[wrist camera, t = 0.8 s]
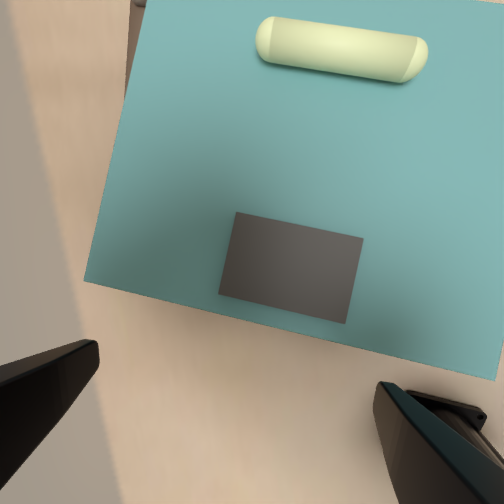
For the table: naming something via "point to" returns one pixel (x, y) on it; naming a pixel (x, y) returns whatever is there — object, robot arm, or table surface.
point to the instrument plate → (317, 172)
